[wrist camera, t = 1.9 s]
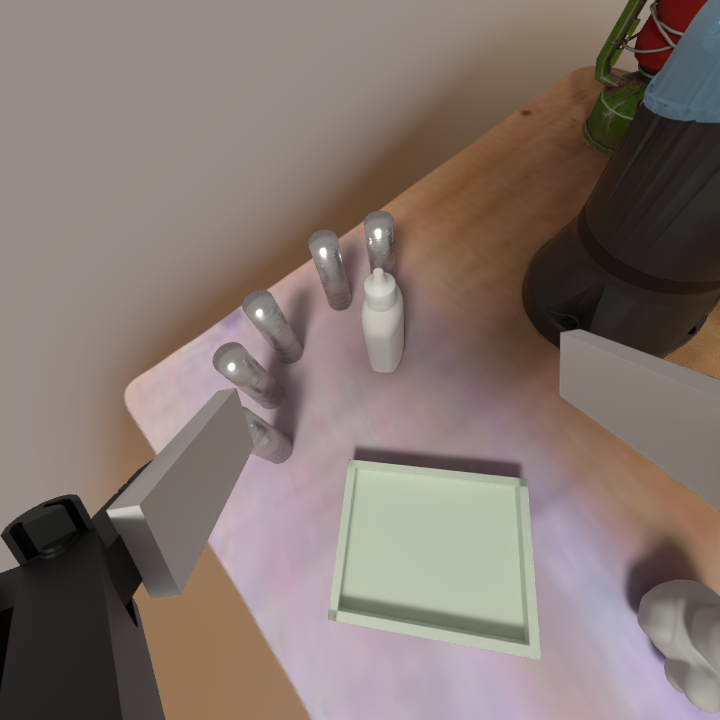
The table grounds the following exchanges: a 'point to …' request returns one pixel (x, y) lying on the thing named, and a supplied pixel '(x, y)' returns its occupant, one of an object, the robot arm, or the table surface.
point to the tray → (437, 557)
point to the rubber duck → (686, 637)
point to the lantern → (652, 52)
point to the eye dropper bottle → (383, 321)
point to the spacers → (280, 335)
